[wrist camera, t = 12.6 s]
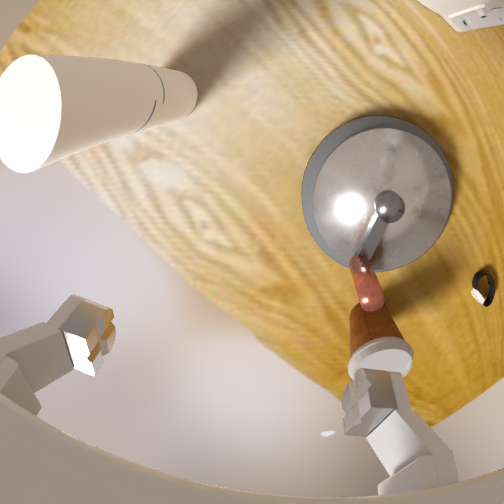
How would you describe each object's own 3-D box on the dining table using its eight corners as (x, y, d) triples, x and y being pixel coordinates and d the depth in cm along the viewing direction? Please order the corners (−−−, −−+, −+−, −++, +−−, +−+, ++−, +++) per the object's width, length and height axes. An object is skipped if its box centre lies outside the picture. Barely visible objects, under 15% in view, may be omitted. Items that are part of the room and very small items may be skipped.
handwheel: (344, 102, 30) (365, 103, 21) (466, 166, 31) (508, 189, 22) (289, 244, 39) (289, 287, 31) (405, 284, 40) (426, 328, 31)
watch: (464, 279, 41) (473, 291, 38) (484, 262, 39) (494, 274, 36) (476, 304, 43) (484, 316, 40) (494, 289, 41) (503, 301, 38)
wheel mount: (435, 105, 30) (443, 106, 28) (449, 247, 39) (455, 254, 37) (281, 136, 35) (281, 138, 33) (320, 278, 44) (321, 287, 42)
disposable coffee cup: (390, 333, 47) (406, 386, 37) (338, 337, 49) (345, 393, 38) (399, 288, 43) (423, 342, 32) (341, 292, 44) (353, 349, 34)
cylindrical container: (138, 113, 35) (-15, 155, 13) (157, 64, 31) (3, 50, 10) (185, 130, 36) (49, 189, 14) (206, 80, 32) (77, 62, 10)
